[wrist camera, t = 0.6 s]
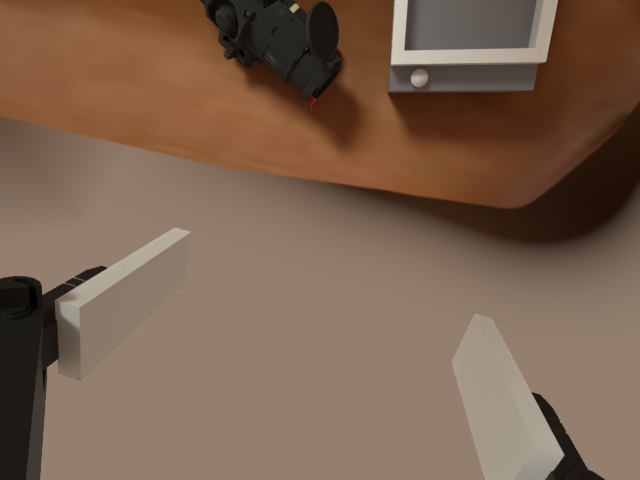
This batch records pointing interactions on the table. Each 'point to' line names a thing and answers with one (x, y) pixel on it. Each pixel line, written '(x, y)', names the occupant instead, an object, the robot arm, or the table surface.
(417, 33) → the grey tray
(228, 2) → the night vision scope
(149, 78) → the table surface
